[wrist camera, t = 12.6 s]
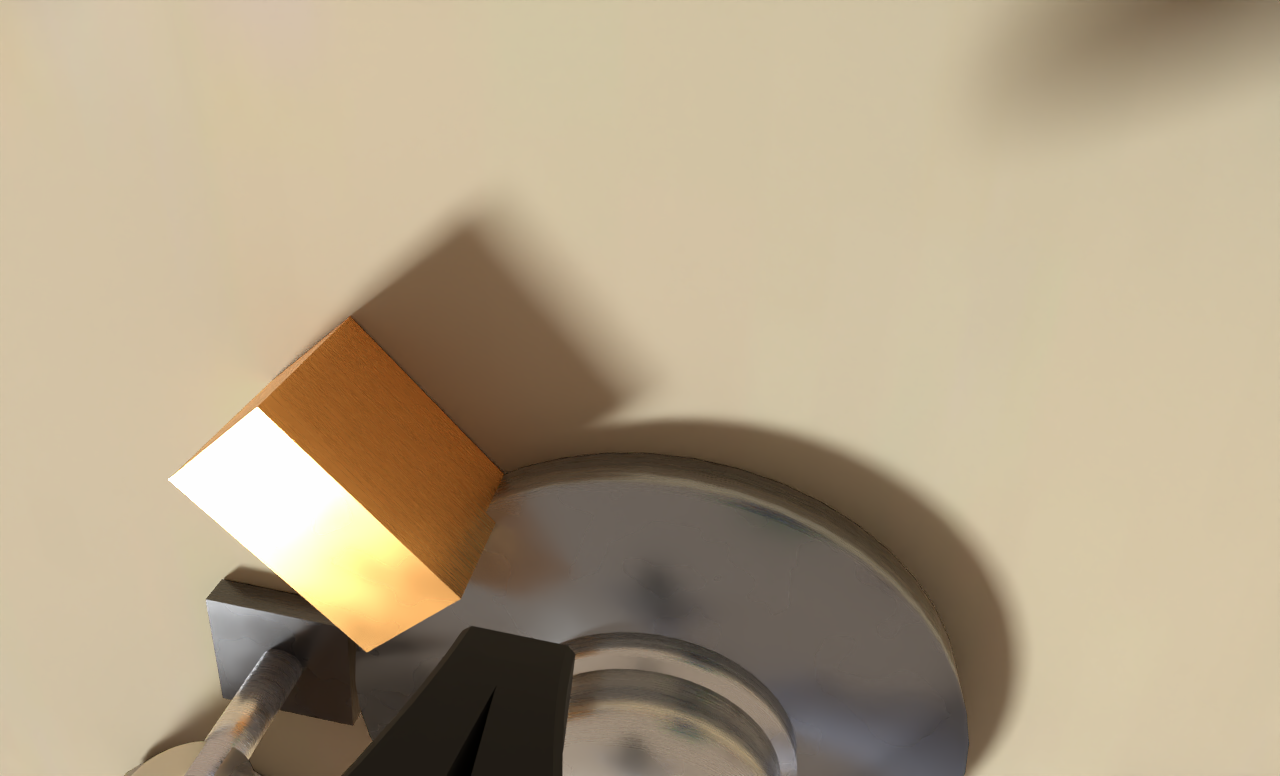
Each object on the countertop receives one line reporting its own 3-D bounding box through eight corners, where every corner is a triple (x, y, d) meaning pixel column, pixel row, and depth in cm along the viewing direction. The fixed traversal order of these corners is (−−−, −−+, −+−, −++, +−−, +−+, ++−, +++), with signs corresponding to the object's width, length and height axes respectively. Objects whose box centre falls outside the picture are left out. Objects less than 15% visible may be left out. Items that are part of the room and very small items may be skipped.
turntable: (561, 140, 17) (504, 205, 13) (1071, 772, 23) (1120, 925, 20) (126, 501, 23) (13, 606, 20) (618, 917, 30) (596, 1050, 26)
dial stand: (359, 607, 24) (223, 835, 18) (364, 703, 26) (243, 937, 20) (221, 579, 24) (44, 795, 19) (237, 676, 26) (82, 899, 21)
